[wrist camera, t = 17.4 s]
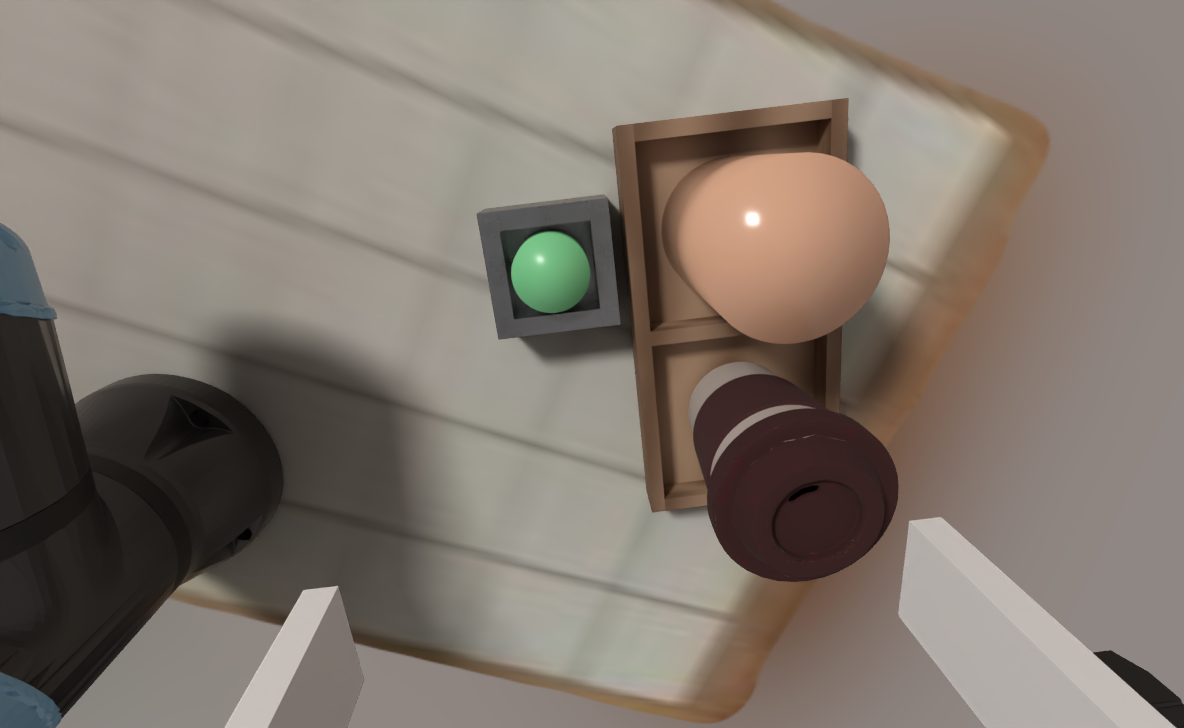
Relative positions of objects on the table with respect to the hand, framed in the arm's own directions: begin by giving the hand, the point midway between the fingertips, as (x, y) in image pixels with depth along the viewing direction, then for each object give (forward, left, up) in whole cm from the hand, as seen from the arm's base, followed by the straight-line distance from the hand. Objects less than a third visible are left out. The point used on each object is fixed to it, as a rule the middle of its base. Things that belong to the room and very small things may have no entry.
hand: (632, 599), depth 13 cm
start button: (-2, +3, -27) cm, 28 cm away
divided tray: (+10, -2, -30) cm, 31 cm away
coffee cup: (+10, -9, -29) cm, 31 cm away
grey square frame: (-2, +3, -30) cm, 30 cm away
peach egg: (+10, +4, -28) cm, 30 cm away
